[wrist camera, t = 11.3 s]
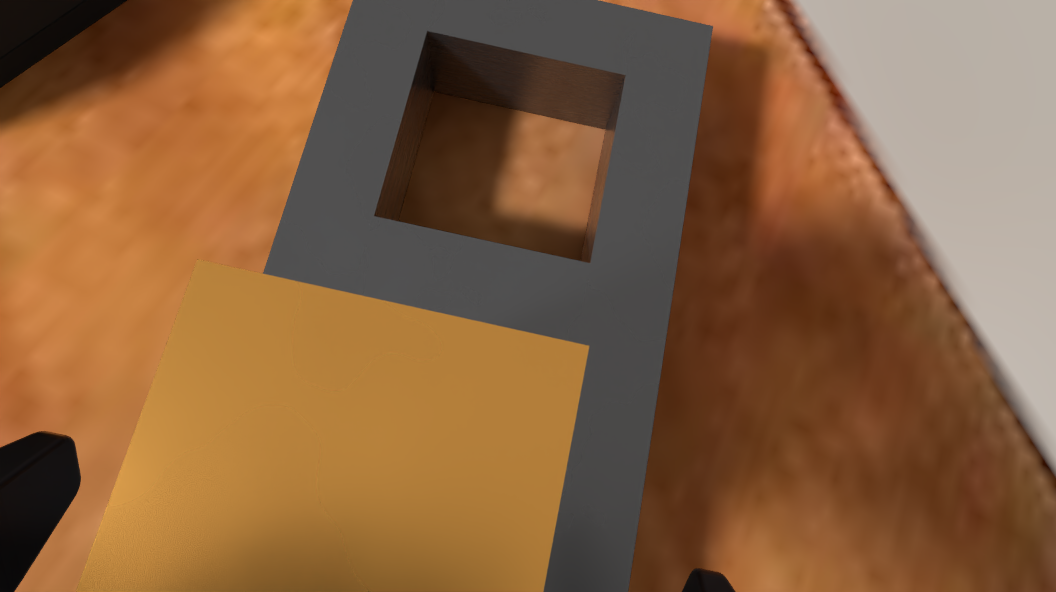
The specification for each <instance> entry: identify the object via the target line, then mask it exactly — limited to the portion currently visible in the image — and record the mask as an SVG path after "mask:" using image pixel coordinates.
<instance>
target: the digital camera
mask: <svg viewBox="0 0 1056 592" xmlns="http://www.w3.org/2000/svg"><path fill="white" fill-rule="evenodd" d="M125 1H127V0H0V87H2V86H3V85H5V84H6V83H8V82H9V81H11V80H12V79H14V78H15V77H16V76H18V75H19V74H21V73H22V72H24V71H25V70H27V69H28V68H29V67H31V66H32V65H34V64H35V63H37V62H38V61H40V60H41V59H43V58H44V57H45V56H47V55H48V54H50V53H51V52H53V51H54V50H56V49H57V48H58V47H60V46H61V45H63V44H64V43H66V42H67V41H69V40H70V39H72V38H73V37H74V36H76V35H77V34H79V33H80V32H82V31H83V30H85V29H86V28H87V27H89V26H90V25H92V24H93V23H95V22H96V21H98V20H99V19H101V18H102V17H103V16H105V15H106V14H108V13H109V12H111V11H112V10H114V9H115V8H116V7H118V6H119V5H121V4H122V3H124V2H125Z"/></svg>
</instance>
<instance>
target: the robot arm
mask: <svg viewBox="0 0 1056 592" xmlns="http://www.w3.org/2000/svg"><path fill="white" fill-rule="evenodd" d="M80 481H81V475H80V469H79V464H78V458H77V452H76V447H75V443H74V441H73V439H72V438H71V437H69V436H67V435H62V434H57V433H52V432H47V431H40V432H36V433H33V434H31V435H28V436H26V437H24V438H21V439H19V440H17V441H14V442H12V443H10V444H7V445H5V446H3V447H0V592H14V591H15V590H16V588H17V587H18V585H19V584H20V582H21V581H22V579H23V578H24V576H25V575H26V573H27V572H28V570H29V568H30V567H31V565H32V564H33V562H34V561H35V559H36V557H37V556H38V554H39V553H40V551H41V549H42V548H43V546H44V545H45V543H46V542H47V540H48V538H49V537H50V535H51V534H52V532H53V531H54V529H55V527H56V526H57V524H58V523H59V521H60V520H61V518H62V516H63V515H64V513H65V512H66V510H67V508H68V507H69V505H70V504H71V502H72V501H73V499H74V497H75V496H76V494H77V492H78V489H79V486H80ZM682 592H735V590H734V589H733V587H732V586H731V584H730V583H729V581H728V580H727V578H726V577H725V576H724V575H723V574H721V573H719V572H715V571H710V570H705V569H701V568H696V569H694V570H693V571H692V572H691V574H690V576H689V578H688V580H687V582H686V584H685V586H684V588H683V590H682Z"/></svg>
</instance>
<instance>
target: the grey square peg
mask: <svg viewBox="0 0 1056 592" xmlns="http://www.w3.org/2000/svg"><path fill="white" fill-rule="evenodd" d="M588 351H589V346H588V345H583V344H579V343H574V342H570V341H565V340H561V339H556V338H552V337H547V336H543V335H538V334H534V333H529V332H525V331H520V330H516V329H511V328H507V327H502V326H498V325H493V324H488V323H484V322H479V321H475V320H470V319H466V318H461V317H457V316H452V315H448V314H443V313H439V312H434V311H430V310H425V309H421V308H416V307H412V306H407V305H403V304H398V303H394V302H389V301H384V300H380V299H375V298H371V297H366V296H362V295H357V294H353V293H348V292H344V291H339V290H335V289H330V288H326V287H321V286H317V285H312V284H308V283H303V282H299V281H294V280H289V279H285V278H280V277H276V276H271V275H267V274H262V273H258V272H253V271H249V270H244V269H240V268H235V267H231V266H226V265H222V264H217V263H213V262H208V261H204V260H199V259H197V262H196V264H195V267H194V270H193V273H192V275H191V278H190V281H189V284H188V286H187V289H186V292H185V294H184V297H183V300H182V303H181V305H180V308H179V311H178V314H177V316H176V319H175V322H174V325H173V327H172V330H171V333H170V336H169V338H168V341H167V344H166V346H165V349H164V352H163V355H162V357H161V360H160V363H159V366H158V368H157V371H156V374H155V377H154V379H153V382H152V385H151V387H150V390H149V393H148V396H147V398H146V401H145V404H144V407H143V409H142V412H141V415H140V418H139V420H138V423H137V426H136V429H135V431H134V434H133V437H132V439H131V442H130V445H129V448H128V450H127V453H126V456H125V459H124V461H123V464H122V467H121V470H120V472H119V475H118V478H117V480H116V483H115V486H114V489H113V491H112V494H111V497H110V500H109V502H108V505H107V508H106V511H105V513H104V516H103V519H102V522H101V524H100V527H99V530H98V532H97V535H96V538H95V541H94V543H93V546H92V549H91V552H90V554H89V557H88V560H87V563H86V565H85V568H84V571H83V574H82V576H81V579H80V582H79V584H78V587H77V590H76V592H543V591H544V585H545V580H546V575H547V569H548V564H549V559H550V553H551V548H552V543H553V537H554V532H555V527H556V521H557V516H558V511H559V505H560V500H561V495H562V489H563V484H564V479H565V473H566V468H567V463H568V457H569V452H570V447H571V441H572V436H573V431H574V425H575V420H576V415H577V409H578V404H579V399H580V393H581V388H582V383H583V377H584V372H585V367H586V361H587V356H588Z"/></svg>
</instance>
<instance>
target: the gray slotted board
mask: <svg viewBox="0 0 1056 592" xmlns="http://www.w3.org/2000/svg"><path fill="white" fill-rule="evenodd" d="M712 29H713V26H710V25H705V24H701V23H696V22H692V21H687V20H683V19H678V18H674V17H670V16H665V15H661V14H656V13H652V12H647V11H643V10H638V9H634V8H629V7H625V6H621V5H616V4H612V3H607V2H603V1H598V0H353V2H352V5H351V8H350V11H349V14H348V17H347V20H346V23H345V26H344V29H343V32H342V35H341V38H340V41H339V44H338V47H337V51H336V54H335V57H334V60H333V63H332V66H331V69H330V72H329V75H328V78H327V81H326V84H325V87H324V90H323V93H322V96H321V99H320V102H319V105H318V108H317V111H316V114H315V117H314V120H313V123H312V126H311V130H310V133H309V136H308V139H307V142H306V145H305V148H304V151H303V154H302V157H301V160H300V163H299V166H298V169H297V172H296V175H295V178H294V181H293V184H292V187H291V190H290V193H289V196H288V199H287V202H286V206H285V209H284V212H283V215H282V218H281V221H280V224H279V227H278V230H277V233H276V236H275V239H274V242H273V245H272V248H271V251H270V254H269V257H268V260H267V263H266V266H265V269H264V272H263V274H267V275H271V276H276V277H280V278H285V279H289V280H294V281H299V282H303V283H308V284H312V285H317V286H321V287H326V288H330V289H335V290H339V291H344V292H348V293H353V294H357V295H362V296H366V297H371V298H375V299H380V300H384V301H389V302H394V303H398V304H403V305H407V306H412V307H416V308H421V309H425V310H430V311H434V312H439V313H443V314H448V315H452V316H457V317H461V318H466V319H470V320H475V321H479V322H484V323H488V324H493V325H498V326H502V327H507V328H511V329H516V330H520V331H525V332H529V333H534V334H538V335H543V336H547V337H552V338H556V339H561V340H565V341H570V342H574V343H579V344H583V345H588V346H589V351H588V356H587V361H586V367H585V372H584V377H583V383H582V388H581V393H580V399H579V404H578V409H577V415H576V420H575V425H574V431H573V436H572V441H571V447H570V452H569V457H568V463H567V468H566V473H565V479H564V484H563V489H562V495H561V500H560V505H559V511H558V516H557V521H556V527H555V532H554V537H553V543H552V548H551V553H550V559H549V564H548V569H547V575H546V580H545V585H544V591H543V592H628V589H629V582H630V576H631V569H632V562H633V556H634V549H635V542H636V536H637V529H638V522H639V516H640V509H641V502H642V496H643V489H644V482H645V476H646V469H647V462H648V456H649V449H650V442H651V436H652V429H653V422H654V416H655V409H656V402H657V396H658V389H659V382H660V376H661V369H662V362H663V356H664V349H665V342H666V336H667V329H668V322H669V316H670V309H671V302H672V296H673V289H674V283H675V276H676V269H677V263H678V256H679V249H680V243H681V236H682V229H683V223H684V216H685V209H686V203H687V196H688V189H689V183H690V176H691V169H692V163H693V156H694V149H695V143H696V136H697V129H698V123H699V116H700V109H701V103H702V96H703V89H704V83H705V76H706V69H707V63H708V56H709V49H710V43H711V36H712ZM434 92H439V93H443V94H448V95H452V96H457V97H461V98H466V99H470V100H475V101H479V102H484V103H488V104H493V105H497V106H502V107H506V108H511V109H515V110H520V111H524V112H529V113H534V114H538V115H543V116H547V117H552V118H556V119H561V120H565V121H570V122H574V123H579V124H583V125H588V126H592V127H597V128H601V129H606V130H605V135H604V141H603V146H602V151H601V156H600V161H599V167H598V172H597V177H596V182H595V187H594V193H593V198H592V203H591V208H590V213H589V218H588V224H587V229H586V234H585V239H584V244H583V250H582V255H581V260H580V261H578V260H573V259H569V258H564V257H559V256H555V255H550V254H546V253H541V252H536V251H532V250H527V249H523V248H518V247H514V246H509V245H504V244H500V243H495V242H491V241H486V240H481V239H477V238H472V237H468V236H463V235H459V234H454V233H449V232H445V231H440V230H436V229H431V228H426V227H422V226H417V225H413V224H408V223H403V222H399V221H398V220H399V216H400V213H401V209H402V205H403V202H404V198H405V194H406V191H407V187H408V184H409V180H410V176H411V173H412V169H413V166H414V162H415V158H416V155H417V151H418V147H419V144H420V140H421V137H422V133H423V129H424V126H425V122H426V119H427V115H428V111H429V108H430V104H431V101H432V97H433V93H434Z"/></svg>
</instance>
